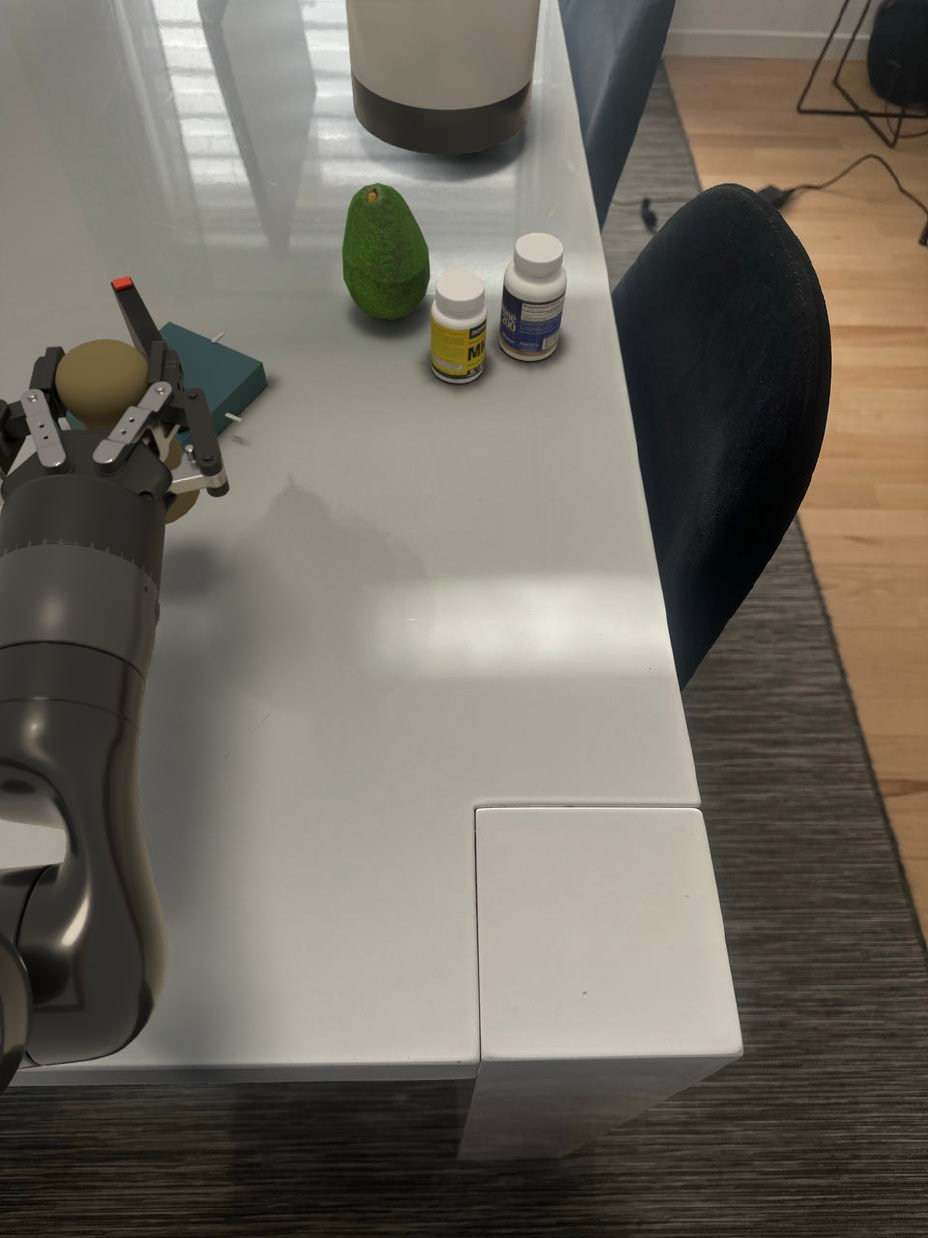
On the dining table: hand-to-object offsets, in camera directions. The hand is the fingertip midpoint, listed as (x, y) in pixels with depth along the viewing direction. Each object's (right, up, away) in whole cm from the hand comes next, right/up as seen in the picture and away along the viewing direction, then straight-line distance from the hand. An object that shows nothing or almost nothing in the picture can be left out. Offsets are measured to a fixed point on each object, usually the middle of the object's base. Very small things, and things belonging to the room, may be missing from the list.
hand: (112, 356), depth 48 cm
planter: (+18, +39, +46) cm, 63 cm away
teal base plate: (-4, +2, +22) cm, 23 cm away
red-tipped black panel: (-4, +4, +20) cm, 21 cm away
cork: (0, -7, +6) cm, 10 cm away
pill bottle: (+26, +10, +28) cm, 40 cm away
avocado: (+13, +13, +29) cm, 35 cm away
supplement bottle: (+20, +7, +26) cm, 33 cm away
